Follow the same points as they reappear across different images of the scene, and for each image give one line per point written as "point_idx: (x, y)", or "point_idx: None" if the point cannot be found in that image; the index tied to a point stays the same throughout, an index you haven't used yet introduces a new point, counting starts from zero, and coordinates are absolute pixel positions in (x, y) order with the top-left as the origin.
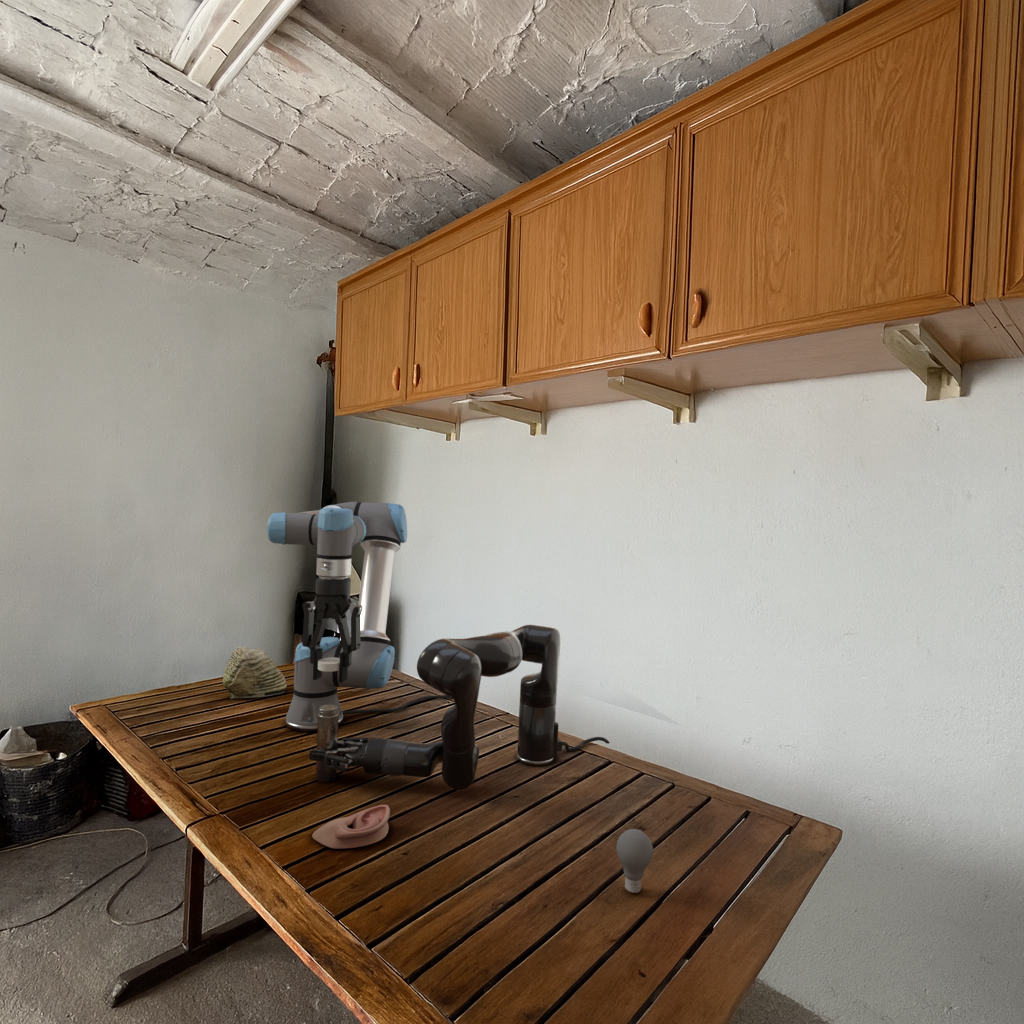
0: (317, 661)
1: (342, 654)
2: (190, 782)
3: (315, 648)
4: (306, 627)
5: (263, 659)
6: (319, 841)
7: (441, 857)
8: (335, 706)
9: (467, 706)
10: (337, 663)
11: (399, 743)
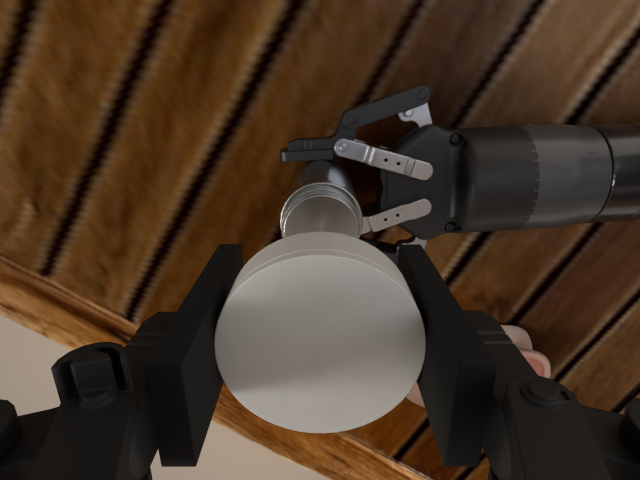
0: (220, 377)
1: (469, 459)
2: (43, 271)
3: (152, 459)
4: None
5: None
6: (424, 407)
7: (633, 393)
8: (345, 214)
9: None
10: (404, 397)
11: (581, 201)
